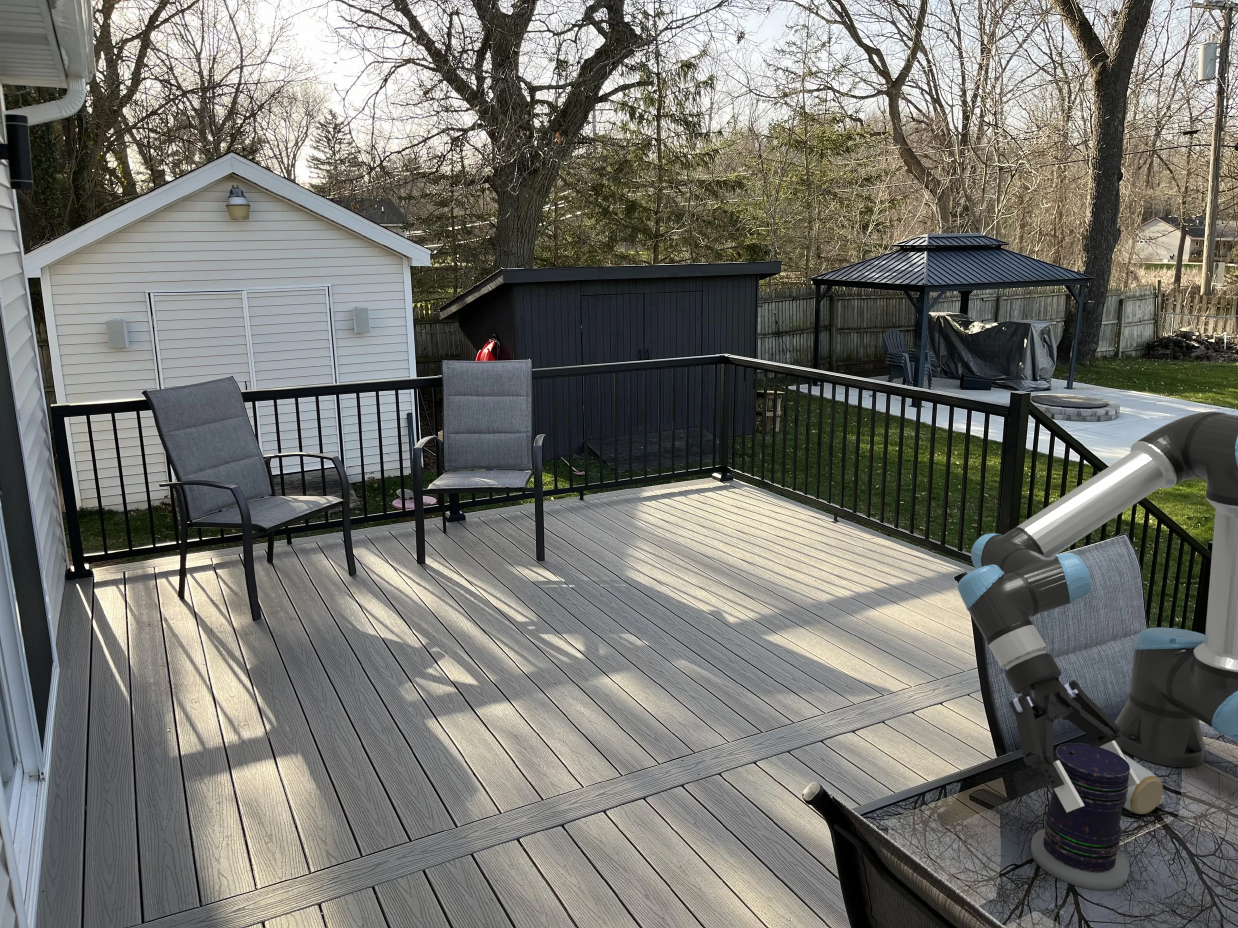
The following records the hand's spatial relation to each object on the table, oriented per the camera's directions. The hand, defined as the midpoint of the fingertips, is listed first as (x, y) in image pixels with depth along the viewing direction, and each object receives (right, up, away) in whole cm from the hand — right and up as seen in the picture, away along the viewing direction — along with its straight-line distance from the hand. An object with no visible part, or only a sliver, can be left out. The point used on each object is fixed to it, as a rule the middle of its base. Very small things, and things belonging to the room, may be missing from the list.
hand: (1104, 797), depth 132 cm
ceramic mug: (+16, -9, +22) cm, 28 cm away
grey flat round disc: (-2, -11, +4) cm, 12 cm away
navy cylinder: (-2, -10, +4) cm, 11 cm away
